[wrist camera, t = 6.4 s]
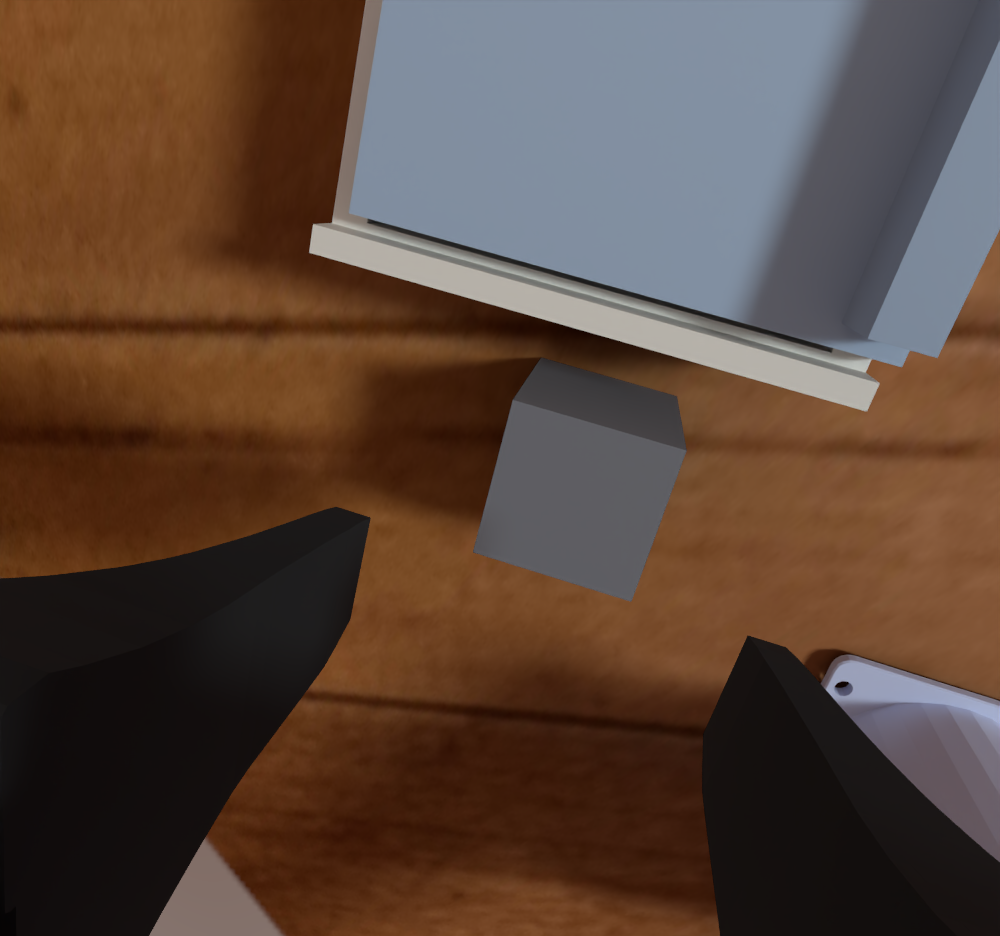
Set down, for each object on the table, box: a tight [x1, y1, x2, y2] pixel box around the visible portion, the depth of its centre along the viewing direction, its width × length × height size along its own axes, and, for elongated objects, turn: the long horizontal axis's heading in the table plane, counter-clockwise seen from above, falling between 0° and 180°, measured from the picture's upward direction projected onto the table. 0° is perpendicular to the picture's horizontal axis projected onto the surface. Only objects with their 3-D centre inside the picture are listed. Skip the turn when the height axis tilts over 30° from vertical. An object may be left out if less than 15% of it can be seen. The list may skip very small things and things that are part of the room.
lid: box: [349, 0, 1000, 367], centre depth 13 cm, size 8×12×2 cm
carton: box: [309, 0, 880, 411], centre depth 16 cm, size 10×12×5 cm
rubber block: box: [473, 358, 687, 601], centre depth 19 cm, size 4×4×5 cm
